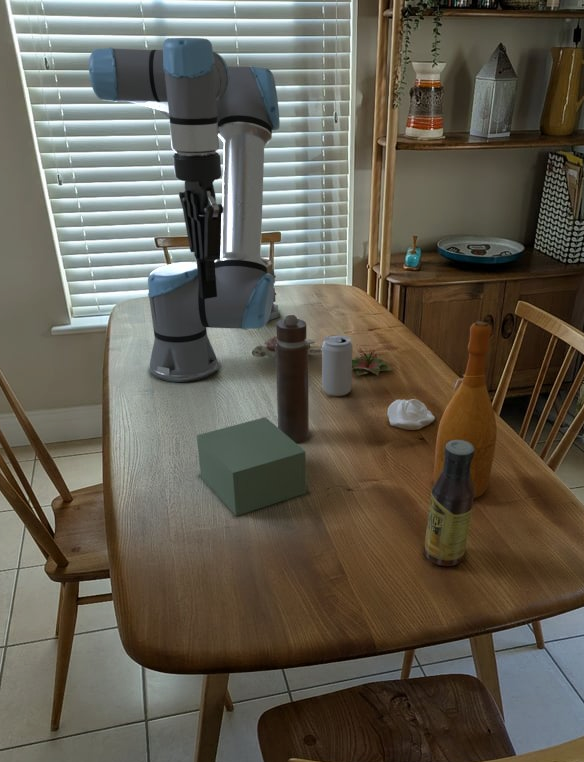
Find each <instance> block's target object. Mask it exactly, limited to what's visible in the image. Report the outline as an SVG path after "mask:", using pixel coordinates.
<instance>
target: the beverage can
mask: <svg viewBox="0 0 584 762" xmlns="http://www.w3.org/2000/svg"><path fill="white" fill-rule="evenodd" d="M321 347H322V348H321V350H322V353H321V354H322V355H321V358H322V359H321V374H322V375H321V381H322V382H321V388H322V391H323V392H324V393H325V394H326V395H328V396H330V397H343V396H347V395H348V393H350V392H351V391H352V382H353V381H352V379H353V377H352V376H353V368H352V360H353V344H352V339H351V338H350V337H348V336H346V335H341V334H331V335H328V336H326V337H324V338H323V343H322V345H321Z"/></svg>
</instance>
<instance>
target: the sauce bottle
mask: <svg viewBox="0 0 584 762" xmlns="http://www.w3.org/2000/svg"><path fill="white" fill-rule="evenodd" d="M444 454H445V460H444V467H443V470H442V472H441V474H440V476H439V478H438V479H437V481H436V483H435V485H434V484H433V487H432V488H431V491H430V501H429V505H428V513H427V515H428V516H427V523H426V531H425V540H424V548H425V549H424V554H425V555H424V556H426V558H427V560H429V561H430V562H431V563H432V564H434V565H436V566H442V567H452V566H455V565H458V564H459V563H461V562H462V561H463V558H464V554H465V552H466V547H467V542H468V536H469V531H470V524H471V519H472V515H473V508H474V499H475V498H474V492H475V489H474V484H473V481H472V479H471V478H470V476H469V474H470V466H471V460H472V458H473V457H474V447H473V445H472V444H471V443H469V442H466V441H463V440H453V441H450V442H448V443H447V444H446V446H445V451H444Z"/></svg>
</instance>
